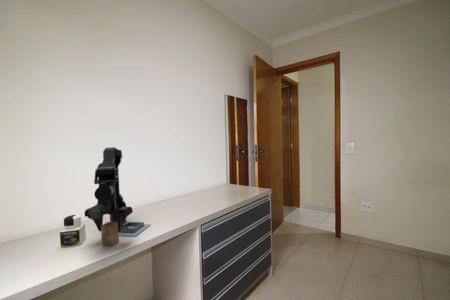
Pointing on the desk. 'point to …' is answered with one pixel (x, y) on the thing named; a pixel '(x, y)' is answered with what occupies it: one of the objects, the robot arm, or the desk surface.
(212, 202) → the desk surface
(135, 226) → the socket holder
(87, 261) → the desk surface
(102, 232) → the walnut peg
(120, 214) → the robot arm
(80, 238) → the medicine bottle
